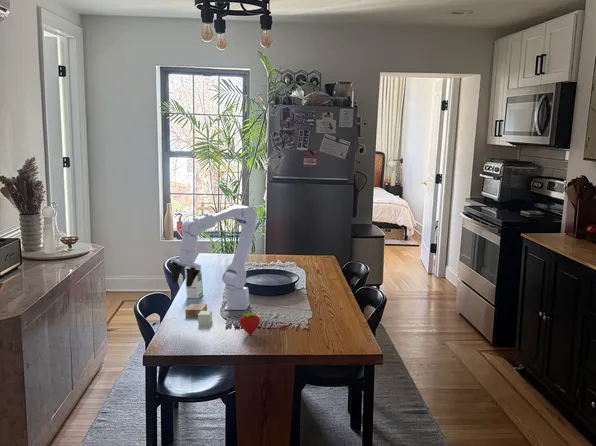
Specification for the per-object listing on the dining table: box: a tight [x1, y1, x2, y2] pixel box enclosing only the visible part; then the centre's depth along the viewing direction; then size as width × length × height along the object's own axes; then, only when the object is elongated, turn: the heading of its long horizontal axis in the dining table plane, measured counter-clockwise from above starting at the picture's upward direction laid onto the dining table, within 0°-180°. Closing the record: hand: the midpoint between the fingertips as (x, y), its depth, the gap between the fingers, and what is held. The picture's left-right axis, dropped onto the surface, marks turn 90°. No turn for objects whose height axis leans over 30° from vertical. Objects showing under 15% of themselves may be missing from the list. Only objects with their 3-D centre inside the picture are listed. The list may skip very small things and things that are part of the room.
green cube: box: [197, 310, 213, 326], centre depth 203 cm, size 4×4×4 cm
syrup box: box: [184, 266, 204, 299], centre depth 236 cm, size 6×6×14 cm
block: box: [185, 303, 208, 318], centre depth 214 cm, size 7×7×4 cm
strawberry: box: [239, 311, 261, 336], centre depth 190 cm, size 6×8×10 cm
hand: (181, 284), depth 203 cm, fingers open, 7 cm apart
